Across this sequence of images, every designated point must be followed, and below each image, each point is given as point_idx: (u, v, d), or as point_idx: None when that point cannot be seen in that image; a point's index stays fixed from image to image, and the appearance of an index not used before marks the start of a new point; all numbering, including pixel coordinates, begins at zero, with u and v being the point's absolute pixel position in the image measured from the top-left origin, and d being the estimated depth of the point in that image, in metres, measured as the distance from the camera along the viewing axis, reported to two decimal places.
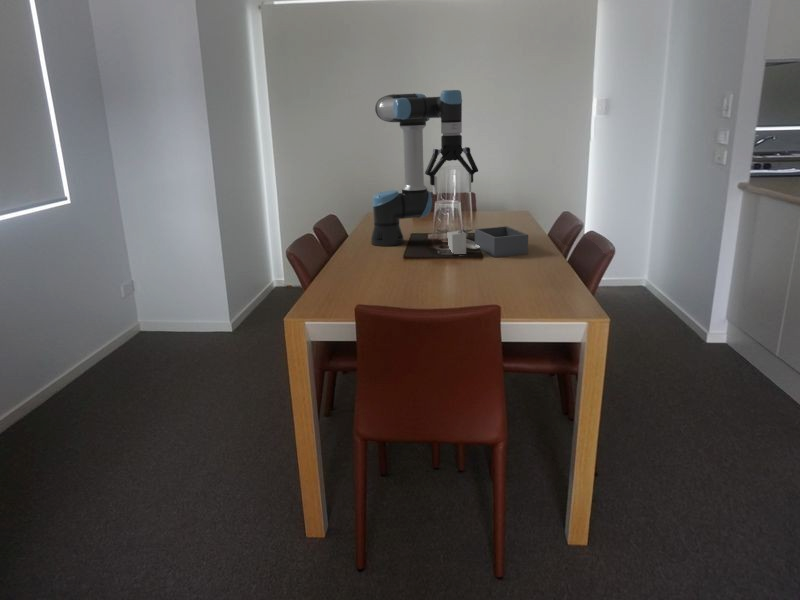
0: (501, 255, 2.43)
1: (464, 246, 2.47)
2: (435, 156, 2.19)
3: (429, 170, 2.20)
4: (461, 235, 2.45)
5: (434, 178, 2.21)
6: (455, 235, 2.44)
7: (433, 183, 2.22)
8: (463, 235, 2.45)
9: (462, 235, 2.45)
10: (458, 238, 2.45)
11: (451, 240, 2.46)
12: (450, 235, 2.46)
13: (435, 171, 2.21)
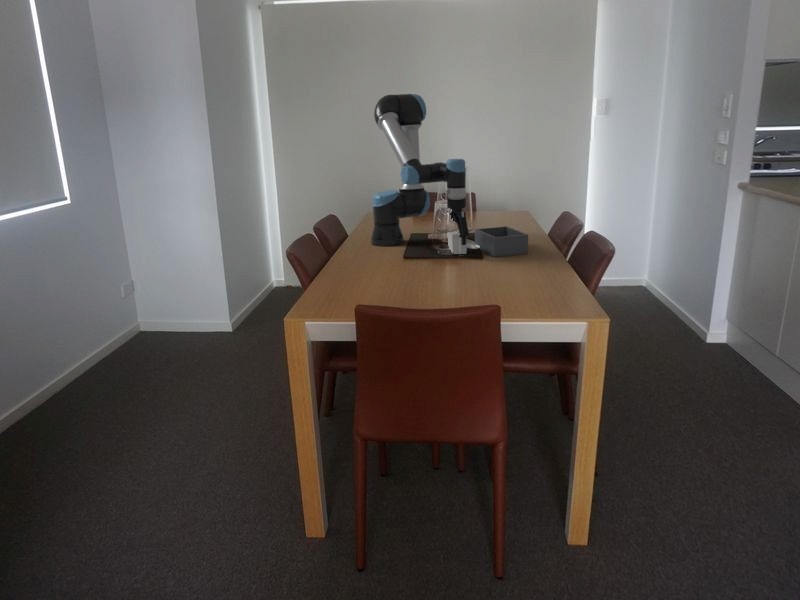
0: (501, 255, 2.43)
1: None
2: None
3: None
4: None
5: None
6: (455, 235, 2.44)
7: None
8: None
9: None
10: (458, 238, 2.45)
11: (451, 240, 2.46)
12: (450, 235, 2.46)
13: None
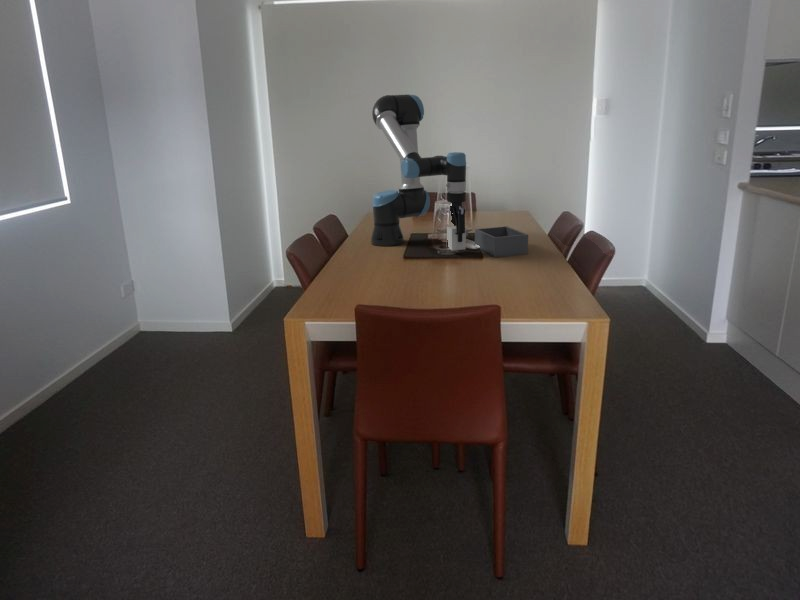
0: (501, 255, 2.43)
1: (463, 241, 2.46)
2: None
3: None
4: None
5: None
6: (455, 229, 2.44)
7: None
8: None
9: None
10: None
11: (451, 234, 2.45)
12: (450, 229, 2.46)
13: None
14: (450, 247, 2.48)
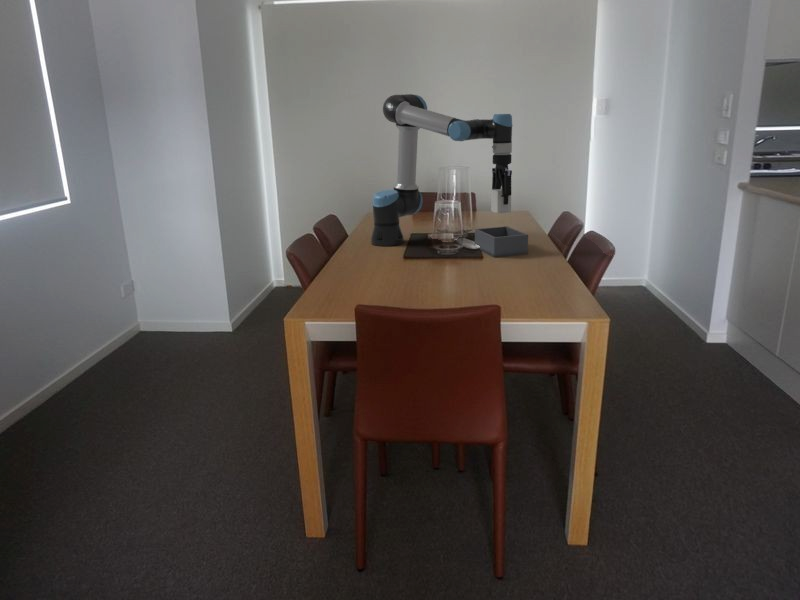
0: (501, 255, 2.43)
1: (509, 204, 2.45)
2: (493, 174, 2.49)
3: (492, 187, 2.50)
4: None
5: None
6: (500, 192, 2.42)
7: None
8: None
9: None
10: None
11: (496, 197, 2.44)
12: (495, 192, 2.44)
13: None
14: (495, 210, 2.46)
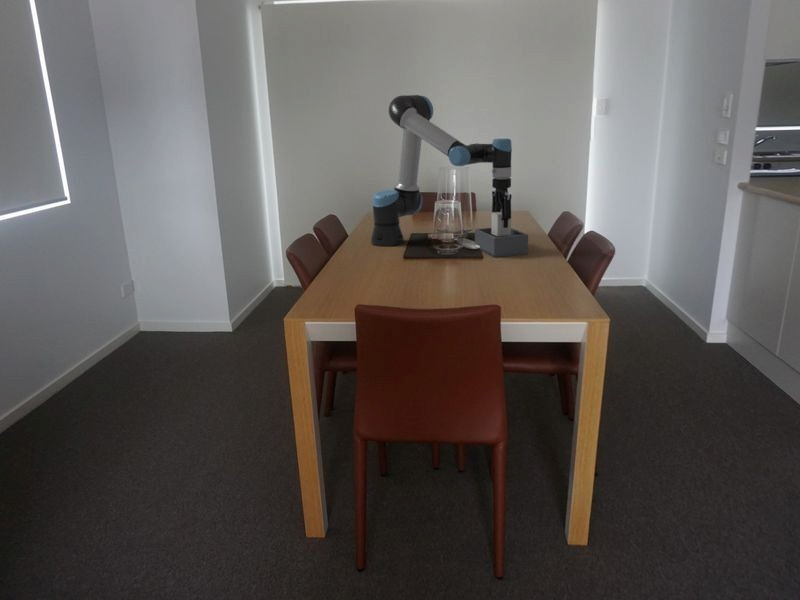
0: (501, 255, 2.43)
1: (509, 226, 2.48)
2: (492, 197, 2.51)
3: (492, 210, 2.53)
4: None
5: None
6: (500, 215, 2.45)
7: None
8: None
9: None
10: None
11: (496, 220, 2.46)
12: (495, 215, 2.47)
13: None
14: (495, 233, 2.49)
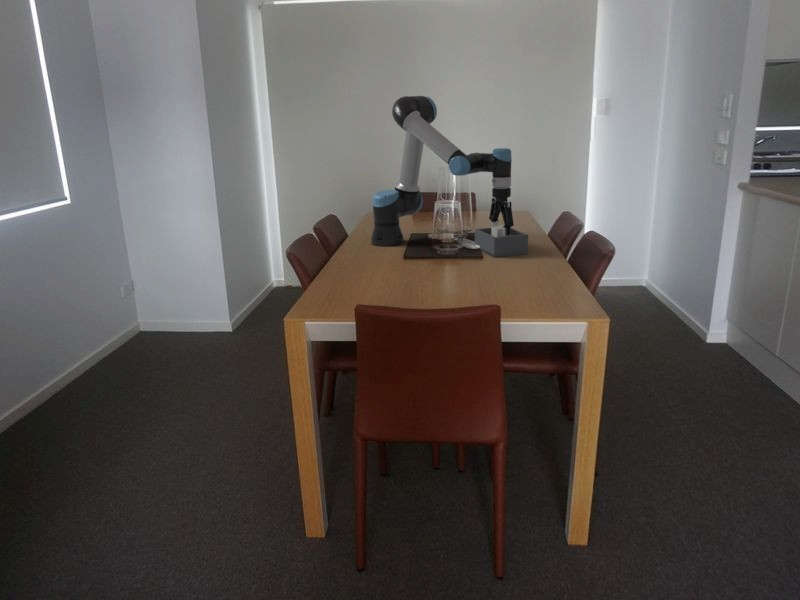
0: (501, 255, 2.43)
1: None
2: (492, 204, 2.53)
3: (490, 215, 2.56)
4: None
5: None
6: (500, 229, 2.47)
7: None
8: None
9: None
10: (503, 232, 2.48)
11: (496, 234, 2.48)
12: (495, 229, 2.49)
13: (492, 217, 2.54)
14: None
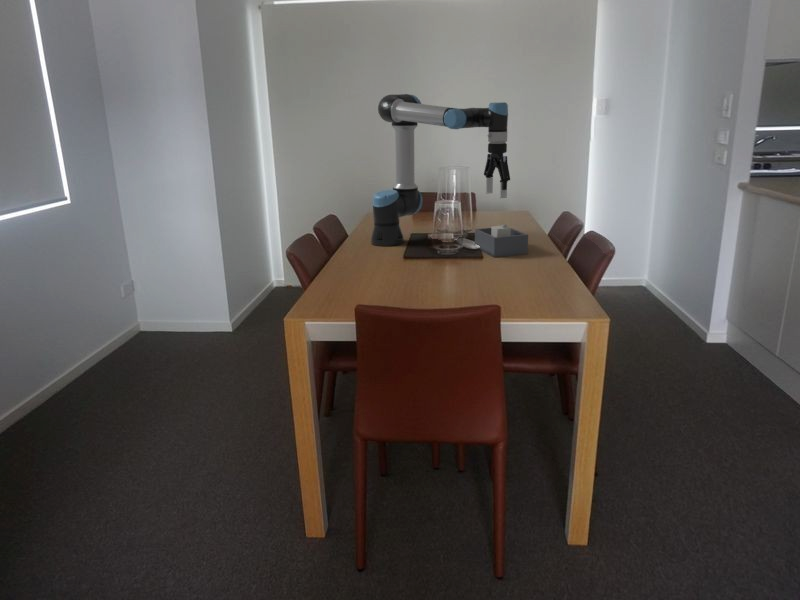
0: (501, 255, 2.43)
1: None
2: (487, 160, 2.49)
3: (484, 171, 2.53)
4: (506, 229, 2.48)
5: None
6: (500, 229, 2.47)
7: None
8: (508, 229, 2.48)
9: (507, 229, 2.48)
10: (503, 232, 2.48)
11: (496, 234, 2.48)
12: (495, 229, 2.49)
13: (487, 173, 2.51)
14: None
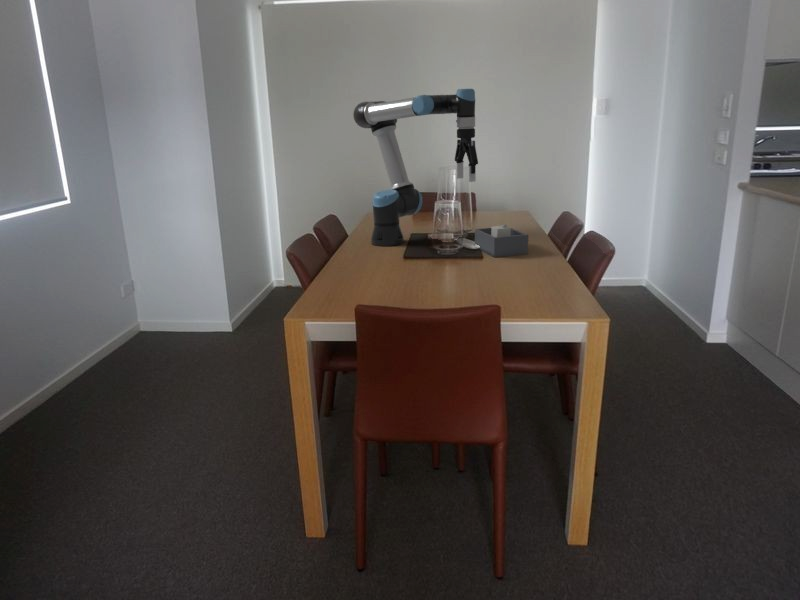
0: (501, 255, 2.43)
1: None
2: (457, 145, 2.56)
3: (455, 157, 2.60)
4: (506, 229, 2.48)
5: None
6: (500, 229, 2.47)
7: None
8: (508, 229, 2.48)
9: (507, 229, 2.48)
10: (503, 232, 2.48)
11: (496, 234, 2.48)
12: (495, 229, 2.49)
13: (457, 158, 2.58)
14: None
